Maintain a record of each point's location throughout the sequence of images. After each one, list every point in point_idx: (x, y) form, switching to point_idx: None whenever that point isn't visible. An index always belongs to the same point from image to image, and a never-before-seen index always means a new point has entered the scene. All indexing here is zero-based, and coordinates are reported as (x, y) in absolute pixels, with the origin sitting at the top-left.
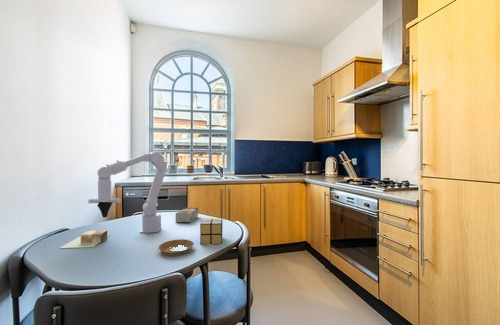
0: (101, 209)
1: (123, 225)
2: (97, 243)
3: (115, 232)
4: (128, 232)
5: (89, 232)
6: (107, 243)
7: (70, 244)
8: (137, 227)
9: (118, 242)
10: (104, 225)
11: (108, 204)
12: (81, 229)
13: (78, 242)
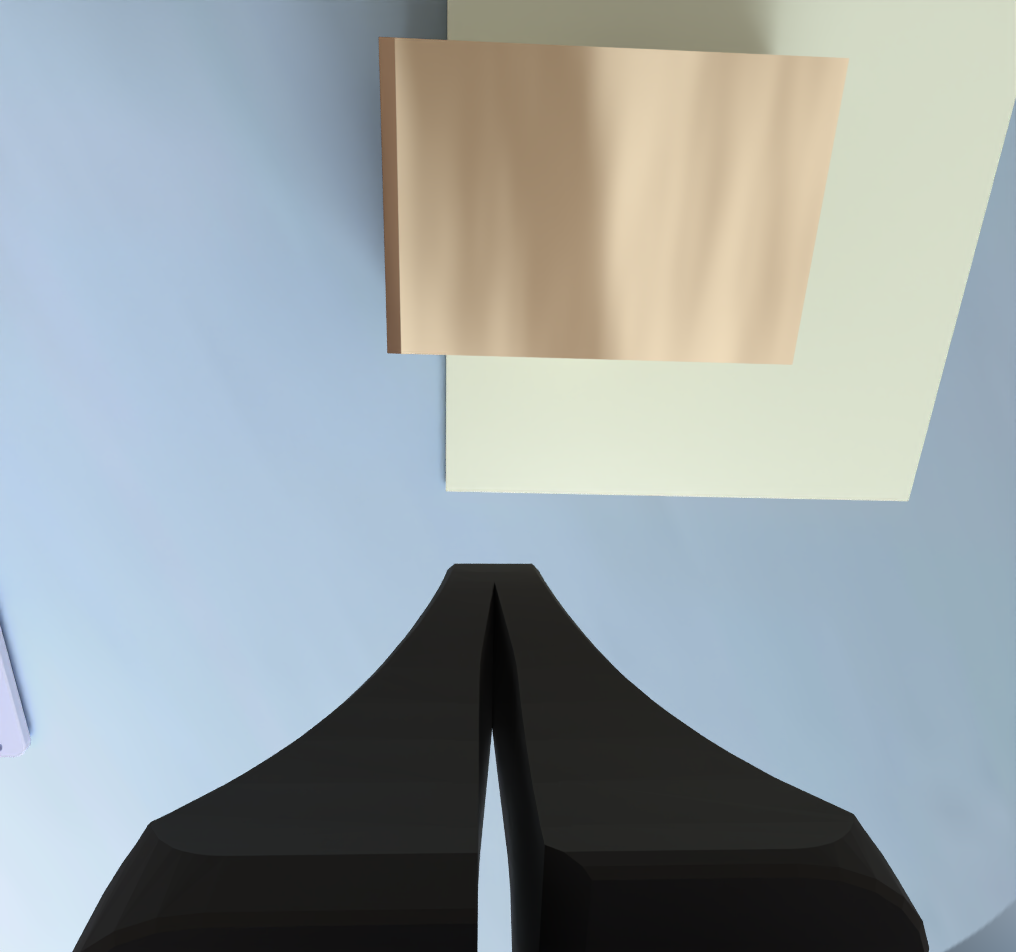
0: (586, 705)
1: None
2: (449, 14)
3: None
4: (205, 601)
5: (714, 231)
6: (274, 31)
7: (936, 43)
8: None
9: (83, 59)
10: None
11: (85, 949)
12: (991, 807)
13: None
